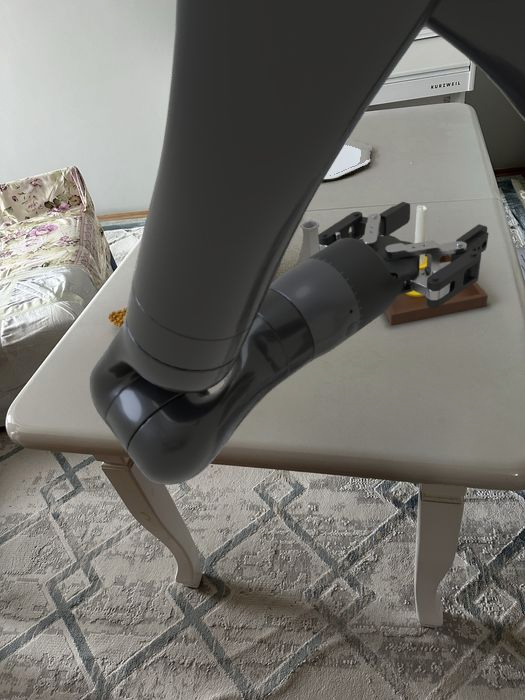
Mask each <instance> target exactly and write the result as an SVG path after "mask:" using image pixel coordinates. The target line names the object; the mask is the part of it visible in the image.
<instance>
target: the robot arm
mask: <svg viewBox="0 0 525 700" xmlns="http://www.w3.org/2000/svg"><path fill="white" fill-rule="evenodd" d="M175 1H176V3H175V25H174V26H175V27H174V28H175V29H174V40H173V42H174V43H173V50H172V51H173V52H172V65H171V75H170V83H169V93H168V101H167V102H168V104H167V111H166V120H165V126H164V132H163V133H164V135H163V143H162V147H161V153H160V157H159V158H160V159H159V162H158V163H159V164H158V168H157V173H156V176H155V181H154V185H153V189H152V195H151V198H150V202H149V207H148V211H147V215H146V219H145V223H144V228H143V231H142V235H141V239H140V244H139V248H138V253H137V257H136V262H135V265H134V270H133V274H132V280H131V285H130V290H129V296H128V301H127V307H126V308H127V311H126V317H125V321H124V323H123V324H122V326H121V327H119V329H118V330H117V332H116V333H115V335H114V336H113V338H112V340H111V341H110V342H109V344H108V346H107V348H106V349H105V351H104V352H103V354H102V355H101V357H99V359H98V361H97V362H96V363H95V364H94V367H93V368H92V370H91V373H90V375H89V391H90V397H91V401H92V403H93V406H94V408H95V410H96V412H97V414H98V415H99V416H100V418H101V419H102V420H103V422H104V423H105V424H106V425H107V427H108V428H109V430H110V431H111V432H112V434H113V435H114V436H115V438H116V439H117V440H118V441H117V442H119V443H120V445H121V446H122V448H123V449H124V450H125V452H126V453H127V454H128V456H129V457H130V459H131V460H132V461H133V463H134V464H135V466H136V467H137V468H138V470H139V471H140V472H141V474H142V475H144V477H145V478H146V479H147V480H149V481H150V482H152V483H154V484H157V485H163V486H172V485H173V486H174V485H178V484H182V483H185V482H188V481H190V480H192V479H194V478H195V477H197V476H199V475H200V474H201V473H202V472H204V471H205V470H206V469H207V468H208V467H209V466H210V465H211V464H212V463H213V461H214V460H215V458H217V456H218V455H219V454H220V452H221V451H222V450H223V449H224V447H225V446H226V444H227V443H228V442H229V440H230V439H231V437H232V436H233V434H234V433H235V432H236V431H237V429H238V428H239V427H240V426H241V424H242V423H243V422H244V421H245V419H246V418H247V417H248V416H249V415H250V414H251V412H252V411H253V410H254V409H255V408H256V407H257V406H258V405H259V403H261V401H262V400H264V398H266V396H268V395H269V394H270V393H271V392H272V391H273V390H274V389H275V388H277V387H278V386H279V385H281V384H282V383H283V382H285V381H286V380H288V379H289V378H290V377H291V376H293V375H295V374H296V373H297V372H299V371H300V370H302V369H303V368H304V367H306V366H307V365H308V364H310V363H312V362H313V361H314V360H317V359H318V358H320V357H322V356H324V355H326V354H328V353H330V352H331V351H332V350H335V349H336V348H337V347H338V346H340V345H341V344H343V343H344V342H346V341H347V340H348V339H350V338H351V337H353V336H354V335H355V334H357V333H358V332H359V331H361V330H362V329H363V328H365V327H366V326H368V325H369V324H371V323H372V322H373V321H374V320H376V319H377V318H379V317H381V315H383V314H384V312H385V311H386V310H387V309H388V308H389V307H390V305H391V304H392V302H393V301H394V300H395V299H396V297H397V296H399V295H401V294H404V293H409V292H411V291H413V290H414V291H416V292H418V293H420V294H422V295H424V296H426V305H427V306H428V307H431V308H437V307H439V306H441V305H442V304H444V303H445V302H447V301H448V300H450V299H451V298H452V297H454V296H455V295H457V294H458V293H460V292H461V291H463V290H464V289H466V288H467V287H469V286H470V285H472V284H473V283H475V282H478V280H479V277H480V268H481V261H482V253H483V252H485V251H486V250H487V247H488V241H489V235H490V233H489V232H488V226H486V225H483V224H477V225H475V226H474V227H473V228H471V229H470V230H468V231H467V232H465V233H464V234H462V235H461V236H459V237H458V238H456V241H450V242H445V243H437V241H435V240H426V242H419V243H415V242H414V243H413V242H411V241H405V240H401V239H399V238H398V237H397V236H393V235H392V234H393V233H394V232H396V231H398V230H400V229H401V228H402V227H404V226H405V225H407V224H409V222H410V220H411V204H410V203H408V202H406V201H401V202H399V203H398V204H396V205H392V206H391V207H389V208H387V209H386V210H384V211H382V212H381V213H371V214H369V215H368V216H363V213H362V212H361V211H354V212H351V213H349V214H348V215H347V216H345V217H343V218H341V219H340V220H339V221H337V222H336V223H334V224H332V225H331V226H329V227H328V228H326V229H325V230H323V231H322V232H320V233H318V234H319V235H318V239H319V252H317V253H316V254H314V255H312V256H311V257H309V258H307V259H306V260H304V261H302V262H301V263H299V264H297V263H296V264H297V265H293V267H291V268H289V269H288V270H286V271H284V272H283V273H281V274H280V275H279V276H277V277H276V276H275V274H276V272H277V270H278V271H279V269H280V267H279V265H280V263H281V264H282V261H283V258H284V256H285V254H286V252H287V249H288V248H289V246H290V244H291V242H292V239H293V237H294V235H295V233H296V231H297V229H298V227H299V226H300V224H301V221H302V219H303V216H304V215H305V214H306V212H307V210H308V208H309V206H310V204H311V202H312V201H313V199H314V197H315V195H316V193H317V192H318V190H319V188H320V186H321V185H322V183H323V181H324V180H323V179H324V178H325V176H326V174H327V173H328V171H329V169H330V168H331V166H332V164H333V163H334V161H335V159H336V158H337V156H338V154H339V153H340V151H341V150H342V148H343V146H344V145H345V143H346V141H347V140H348V138H349V139H350V136H352V133H353V132H354V130H355V129H356V127H357V126H358V124H359V123H360V121H361V119H362V118H363V116H364V114H365V113H366V111H367V110H368V108H369V107H370V105H371V104H372V102H373V101H374V99H375V98H376V96H377V95H378V94H379V92H380V90H381V89H382V88H383V86H384V85H385V83H386V82H387V80H388V79H389V78H390V77H391V74H392V73H393V72H394V71H395V69H396V68H397V66H398V65H399V63H400V62H401V60H402V59H403V57H404V56H405V54H407V52H408V50H409V49H410V48H411V46H412V45H413V43H414V41H415V40H416V39H417V37H418V36H419V35H420V33H421V32H422V30H423V29H424V27H426V28H427V29H428V30H430V31H431V32H433V33H434V34H436V35H437V36H439V37H440V38H442V39H443V40H444V41H446V42H447V43H448V44H449V45H451V46H452V47H453V48H455V49H456V50H457V51H458V52H460V53H461V54H463V56H465V57H466V58H467V59H468V61H470V62H472V64H473V65H475V66H476V67H477V68H478V69H479V70H480V71H481V72H483V74H484V75H485V76H486V77H487V78H488V79H489V81H491V82H492V84H494V86H495V87H496V88H497V89H498V90H499V91H500V93H501V94H502V95H503V96H504V98H506V100H507V101H508V103H510V105H511V106H512V108H513V109H514V110H515V111H516V112H517V114H518V115H519V116H520V118H522V120H523V121H524V122H525V0H175ZM350 230H351V231H350ZM423 254H427V266H426V268H425V269H424V270H421V271H419V266H420V255H423ZM445 255H451V262H445V263H440V258H441V257H442V256H445ZM280 266H281V265H280ZM278 268H279V269H278ZM277 273H278V272H277ZM276 275H277V274H276ZM274 276H275V278H274ZM273 279H274V280H273ZM222 381H223V384H222V385H221V386H220V387H219V388H218V389H217V390H215V391H213V392H211V391H210V389H212V388H214V387H216V386H217V385H219V384H220V383H221V382H222Z"/></svg>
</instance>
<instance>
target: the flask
mask: <svg viewBox="0 0 525 700" xmlns="http://www.w3.org/2000/svg"><path fill="white" fill-rule="evenodd" d="M319 227H320V223H319V222H318V220H315V219H314V220H313V219H309V220H306V221H303V222H302V223H300V228H301V229H302V243H301V248H300V251H299V254H298V259H297V261H296V265H297V264H299V263H301V262H302V261H304V260H306V259H307V258H309V257H311V256H312V255H314V254H316V253H317V252H319V239H318V235H319V234H320V233H319ZM296 265H295V266H296Z"/></svg>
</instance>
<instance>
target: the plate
mask: <svg viewBox="0 0 525 700" xmlns="http://www.w3.org/2000/svg"><path fill="white" fill-rule="evenodd" d="M360 157H361V150H360V149H358V148H355V147H352V146H349V145H348V146H347V145H344V146H343V148H342V150H341V151H340V153H339V154H338V156H337V158H336V159H335V161H334V163H333V164H332V166H331V168H330V169H329V171H328V173H327V174H326V176H325V178H324V179H323V181H332V180H337V179H339V178H341V177H344V176H345V174H346V175H348V174H350V173H352V172H351V171H353V172H355V171H357V170H359V169H358V168H360V167H362V166H364V165H366V164H368V162H370V163H371V159H369V160H366V161H365V162H364V163H362V164H359V165H357V164H358V163H359V162H360ZM355 165H357V166H355ZM368 165H369V164H368ZM352 166H355V167H352ZM366 166H367V165H366ZM350 167H352V168H350ZM364 167H365V166H364ZM348 168H349V169H348ZM362 168H363V167H362ZM345 169H347V170H345ZM356 169H357V170H356ZM360 169H361V168H360ZM343 170H345V171H343ZM354 170H355V171H354ZM341 171H343V172H341ZM338 172H340V173H338ZM336 173H338V174H336ZM334 174H335V175H334ZM330 175H331V176H330ZM343 175H344V176H343Z"/></svg>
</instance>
